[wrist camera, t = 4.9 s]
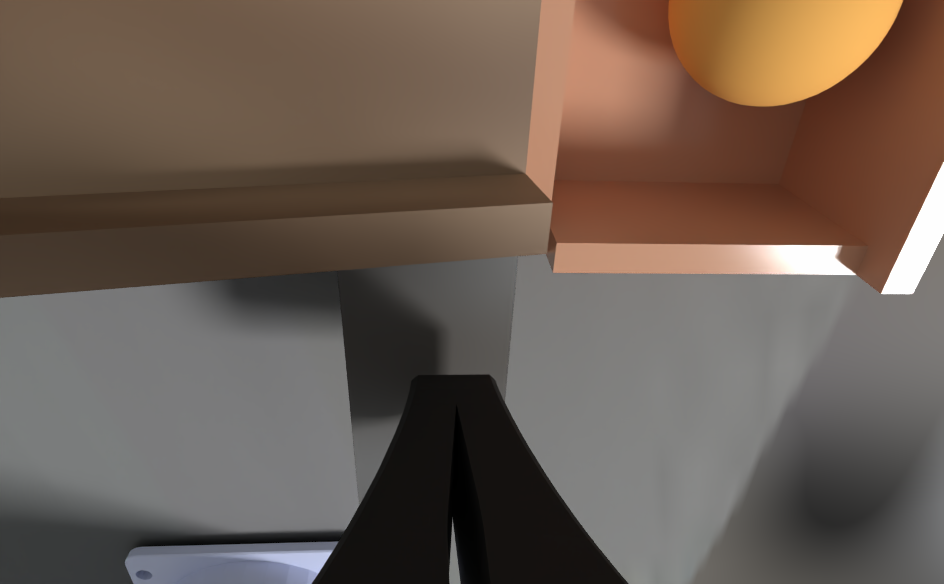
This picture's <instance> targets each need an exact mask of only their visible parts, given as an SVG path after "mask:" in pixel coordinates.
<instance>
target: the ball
mask: <svg viewBox="0 0 944 584" xmlns="http://www.w3.org/2000/svg"><path fill="white" fill-rule="evenodd" d="M902 2H903V0H669V9H668V20H669V29H670V35H671V39H672V43H673V47H674V49H675V51H676V54H677V56H678V58H679V60H680V62H681V63H682V65H683V67H684V68H685V70H686V71H687V72H688V73H689V74H690V76H691V77H692V78H693V79H694V80H695V81H696V82H697V83H698V84H699V85H700V86H701V87H703V88H704V89H706V90H707V91H709V92H710V93H712V94H713V95H715V96H718V97H720V98H722V99H724V100H727V101H729V102H733V103H737V104H740V105H748V106H778V105H785V104H789V103H793V102H797V101H800V100H804V99H806V98H809V97H812V96H814V95H817V94H819V93H821V92H823V91H825V90H827V89H829V88H830V87H832V86H834V85H835V84H837V83H838V82H840V81H842V80H843V79H844V78H845V77H847V76H848V75H849V74H851V73H852V72H853V71H854V70H856V69H857V68H858V67H859V66H860V65H861V64H862V63H863V62H864V61H865V60H866V59H868V57H869V56H870V55H871V54H872V53H873V52H874V51H875V49H876V48H877V47H878V46H879V45H880V43H881V42H882V40H883V39H884V37H885V36H886V35H887V33H888V31H889V30H890V28H891V26H892V24H893V23H894V21H895V19H896V17H897V15H898V12H899V10H900V8H901V5H902Z"/></svg>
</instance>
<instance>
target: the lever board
mask: <svg viewBox="0 0 944 584" xmlns="http://www.w3.org/2000/svg"><path fill="white" fill-rule="evenodd" d="M540 11H541V0H0V298H3V297H15V296H28V295H40V294H53V293H65V292H78V291H90V290H102V289H115V288H127V287H140V286H152V285H165V284H177V283H190V282H202V281H215V280H227V279H240V278H252V277H264V276H277V275H289V274H302V273H314V272H327V271H337V272H338V282H339V293H340V304H341V315H342V326H343V336H344V347H345V358H346V369H347V379H348V390H349V401H350V412H351V423H352V433H353V444H354V455H355V466H356V476H357V487H358V498H359V504H360V503H361V502H362V500H363V498H364V496H365V494H366V492H367V490H368V489H369V487H370V485H371V483H372V481H373V479H374V477H375V475H376V473H377V471H378V469H379V467H380V465H381V463H382V461H383V459H384V456H385V454H386V452H387V450H388V447H389V445H390V443H391V441H392V439H393V436H394V434H395V432H396V429H397V427H398V424H399V421H400V419H401V416H402V413H403V411H404V408H405V405H406V401H407V398H408V394H409V390H410V385H411V380H412V379H414V378H415V377H416V376H417V375H476V374H489V375H491V376H492V377H493V378H494V379H495V381H496V383H497V386H498V388H499V391H500V393H501V395H502V398H503V400H504V402H505V395H506V384H507V373H508V362H509V351H510V340H511V329H512V318H513V307H514V296H515V285H516V274H517V263H518V256H526V255H538V254H547V248H548V240H549V231H550V223H551V215H552V206H553V202H552V201H551V200H550V199H549V198H548V197H547V196H546V195H545V194H544V193H543V192H542V191H541V189H540V188H539V187H538V186H537V185H536V184H535V183H534V182H533V181H532V180H531V179H530V178H529V177H528V176H527V175H526V165H527V154H528V143H529V132H530V121H531V110H532V99H533V88H534V77H535V66H536V55H537V44H538V33H539V22H540Z"/></svg>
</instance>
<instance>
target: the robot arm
mask: <svg viewBox="0 0 944 584" xmlns="http://www.w3.org/2000/svg"><path fill="white" fill-rule="evenodd" d="M452 517H453V524H454V532H455V541H456V549H457V557H458V565H459V573H460V581H461V584H628V582H627V581H626V580H625V579H624V578H623V577H622V576H621V574H620V573H619V572H618V571H617V570H616V568H615V567H614V566H613V565H612V564H611V562H610V561H609V560H608V559H607V557H606V556H605V555H604V554H603V553H602V551H601V550H600V549H599V548H598V546H597V545H596V544H595V543H594V541H593V540H592V539H591V537H590V536H589V535H588V533H587V532H586V531H585V530H584V528H583V527H582V525H581V524H580V523H579V521H578V520H577V519H576V517H575V516H574V515H573V513H572V512H571V510H570V509H569V508H568V506H567V505H566V503H565V502H564V500H563V499H562V498H561V496H560V495H559V493H558V492H557V490H556V489H555V487H554V486H553V484H552V483H551V481H550V480H549V478H548V477H547V475H546V474H545V472H544V471H543V469H542V467H541V466H540V464H539V463H538V461H537V459H536V458H535V456H534V454H533V453H532V451H531V450H530V448H529V446H528V445H527V443H526V441H525V440H524V438H523V436H522V434H521V433H520V431H519V429H518V427H517V425H516V423H515V421H514V420H513V418H512V416H511V414H510V412H509V410H508V408H507V406H506V404H505V402H504V400H503V398H502V395H501V393H500V391H499V388H498V386H497V383H496V381H495V379H494V378H493V377H492V376H491V375H489V374H476V375H417V376H416V377H415V378H414V379H412V380H411V385H410V390H409V394H408V398H407V401H406V405H405V408H404V411H403V413H402V416H401V419H400V421H399V424H398V427H397V429H396V432H395V434H394V436H393V439H392V441H391V443H390V445H389V447H388V450H387V452H386V454H385V456H384V459H383V461H382V463H381V465H380V467H379V469H378V471H377V473H376V475H375V477H374V479H373V481H372V483H371V485H370V487H369V489H368V490H367V492H366V494H365V496H364V498H363V500H362V502H361V503H360V505H359V507H358V509H357V511H356V513H355V515H354V516H353V518H352V520H351V522H350V523H349V525H348V527H347V528H346V530H345V532H344V533H343V535H342V537H341V539H340V540H339V541H336V542H299V543H261V544H224V545H186V546H149V547H137V548H134V549H132V550H131V551H130V552H129V554H128V556H127V558H126V560H125V566H126V568H127V570H128V573H129V575H130V577H131V579H132V582H133V584H449V565H450V549H451V533H452Z"/></svg>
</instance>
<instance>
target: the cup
mask: <svg viewBox="0 0 944 584" xmlns="http://www.w3.org/2000/svg"><path fill="white" fill-rule="evenodd" d="M668 9H669V0H541V11H540V22H539V33H538V44H537V55H536V66H535V77H534V88H533V99H532V110H531V121H530V132H529V143H528V154H527V165H526V175H527V176H528V177H529V178H530V179H531V180H532V181H533V182H534V183H535V184H536V185H537V186H538V187H539V188H540V189H541V191H542V192H543V193H544V194H545V195H546V196H547V197H548V198H549V199H550V200H551V201H552V202H553V206H552V215H551V223H550V231H549V240H548V248H547V254H546V255H547V258H548V261H549V263H550V266H551V269H552V271H553V273H678V274H841V275H857V276H859V277H860V278H861V279H862V280H864V281H865V282H866V283H868V284H869V285H870V286H872V287H873V288H874V289H875V290H877V291H878V292H879V293H881V294H913V292H914V290H915V288H916V286H917V284H918V282H919V280H920V278H921V276H922V275H923V273H924V271H925V269H926V267H927V265H928V263H929V261H930V259H931V257H932V255H933V252H934V251H935V249H936V247H937V245H938V243H939V241H940V239H941V237H942V235H943V233H944V0H903V2H902V5H901V8H900V10H899V12H898V15H897V17H896V19H895V21H894V23H893V24H892V26H891V28H890V30H889V31H888V33H887V35H886V36H885V37H884V39H883V40H882V42H881V43H880V45H879V46H878V47H877V48H876V49H875V51H874V52H873V53H872V54H871V55H870V56H869V57H868V59H866V60H865V61H864V62H863V63H862V64H861V65H860V66H859V67H858V68H857V69H856V70H854V71H853V72H852V73H851V74H849V75H848V76H847V77H845V78H844V79H843V80H842V81H840V82H838V83H837V84H835V85H834V86H832V87H830V88H829V89H827V90H825V91H823V92H821V93H819V94H817V95H814V96H812V97H809V98H806V99H804V100H800V101H797V102H793V103H789V104H785V105H778V106H748V105H740V104H737V103H733V102H729V101H727V100H724V99H722V98H720V97H718V96H715V95H713V94H712V93H710V92H709V91H707V90H706V89H704V88H703V87H701V86H700V85H699V84H698V83H697V82H696V81H695V80H694V79H693V78H692V77H691V76H690V74H689V73H688V72H687V71H686V70H685V68H684V67H683V65H682V63H681V62H680V60H679V58H678V56H677V54H676V51H675V49H674V47H673V43H672V39H671V35H670V29H669V20H668Z"/></svg>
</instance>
